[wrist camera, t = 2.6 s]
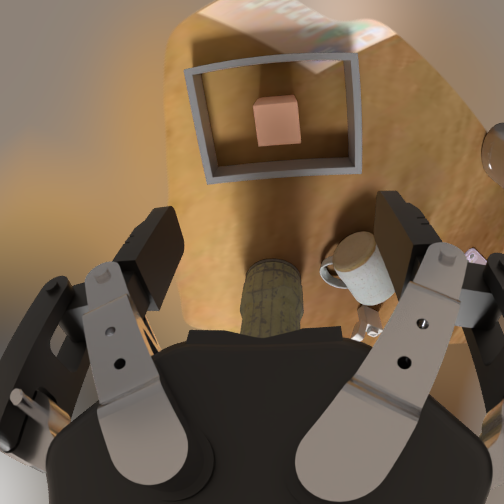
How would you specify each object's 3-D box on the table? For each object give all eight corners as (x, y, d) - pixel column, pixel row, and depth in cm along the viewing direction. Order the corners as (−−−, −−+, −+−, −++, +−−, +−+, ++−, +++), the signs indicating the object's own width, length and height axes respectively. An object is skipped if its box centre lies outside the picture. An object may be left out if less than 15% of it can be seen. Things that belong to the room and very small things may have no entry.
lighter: (378, 312, 48) (387, 348, 42) (372, 317, 49) (380, 353, 43) (350, 298, 47) (358, 336, 40) (344, 304, 47) (350, 342, 41)
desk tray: (349, 54, 25) (357, 53, 22) (354, 163, 33) (361, 173, 30) (192, 68, 28) (183, 69, 25) (213, 173, 36) (207, 184, 33)
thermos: (318, 265, 43) (333, 524, 15) (279, 311, 50) (266, 523, 22) (265, 241, 41) (236, 526, 13) (232, 292, 48) (192, 515, 20)
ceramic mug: (368, 218, 37) (382, 253, 31) (393, 255, 40) (407, 291, 34) (307, 256, 42) (309, 294, 36) (336, 287, 46) (342, 325, 40)
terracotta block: (293, 94, 29) (297, 102, 23) (297, 127, 31) (301, 143, 26) (258, 97, 29) (252, 106, 24) (262, 130, 32) (258, 146, 26)
